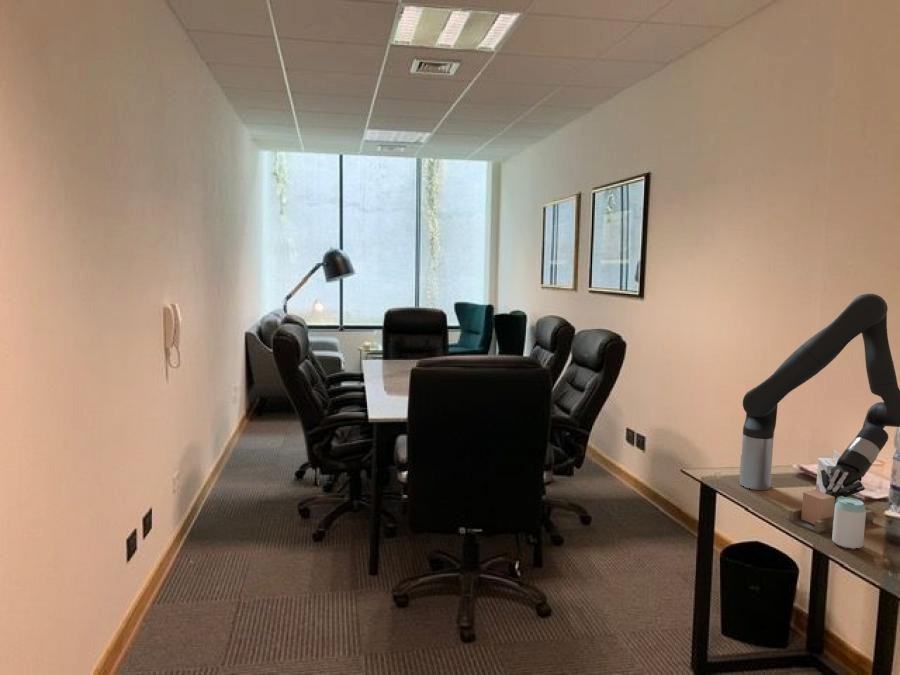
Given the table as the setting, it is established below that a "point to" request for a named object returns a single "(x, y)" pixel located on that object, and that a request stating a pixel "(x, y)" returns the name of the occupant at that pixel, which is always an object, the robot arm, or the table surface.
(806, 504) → the block
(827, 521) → the chute
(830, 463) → the ink cartridge box
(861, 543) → the can
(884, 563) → the table surface
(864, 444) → the robot arm
